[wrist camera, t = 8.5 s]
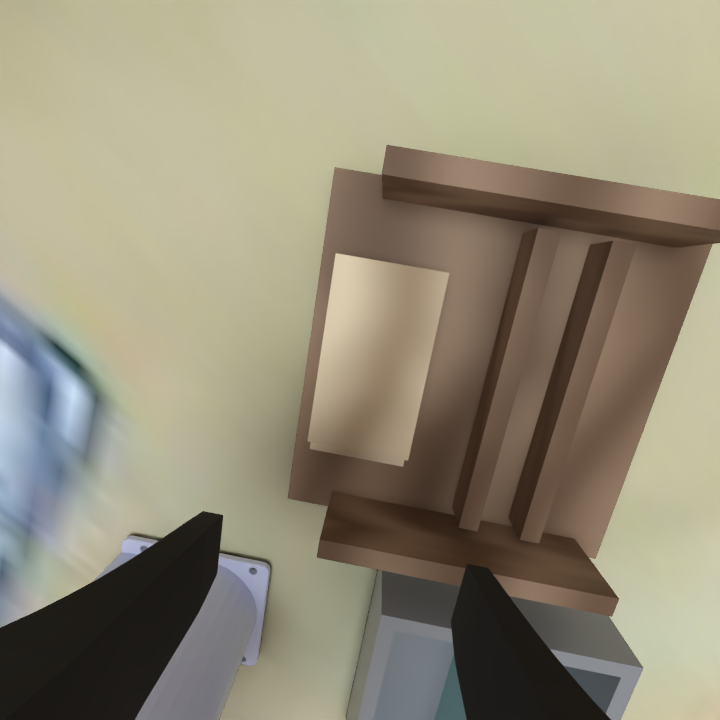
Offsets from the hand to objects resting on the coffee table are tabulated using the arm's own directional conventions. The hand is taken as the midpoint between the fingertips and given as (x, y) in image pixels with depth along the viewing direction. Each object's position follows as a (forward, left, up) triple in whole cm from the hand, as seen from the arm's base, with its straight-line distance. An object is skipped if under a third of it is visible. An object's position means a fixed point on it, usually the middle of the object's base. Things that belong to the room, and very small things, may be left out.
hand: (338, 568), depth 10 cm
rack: (+6, +4, -10) cm, 13 cm away
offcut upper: (0, +4, -9) cm, 10 cm away
